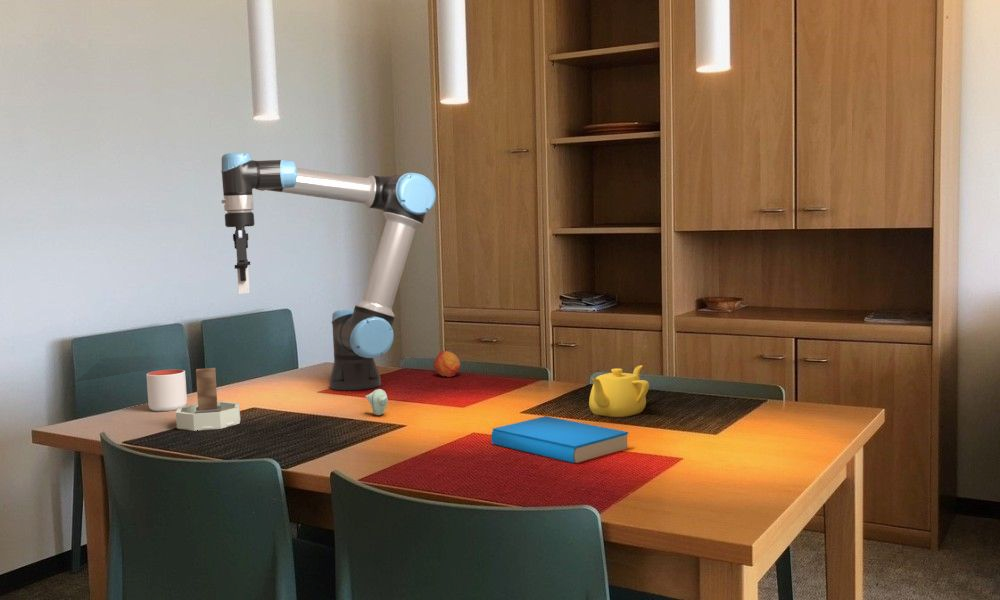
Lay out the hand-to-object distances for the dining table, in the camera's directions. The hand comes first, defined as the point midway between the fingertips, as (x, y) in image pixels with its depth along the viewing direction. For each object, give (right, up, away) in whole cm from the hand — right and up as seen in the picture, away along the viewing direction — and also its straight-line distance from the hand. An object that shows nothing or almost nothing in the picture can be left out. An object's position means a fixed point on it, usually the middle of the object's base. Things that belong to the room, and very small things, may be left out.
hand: (244, 291), depth 264 cm
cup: (-22, -32, +5) cm, 39 cm away
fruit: (+52, -26, +41) cm, 72 cm away
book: (+81, -34, -52) cm, 102 cm away
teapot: (+99, -30, -20) cm, 105 cm away
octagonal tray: (-5, -33, -17) cm, 37 cm away
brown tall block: (-5, -33, -17) cm, 37 cm away
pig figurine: (+38, -32, -14) cm, 51 cm away
